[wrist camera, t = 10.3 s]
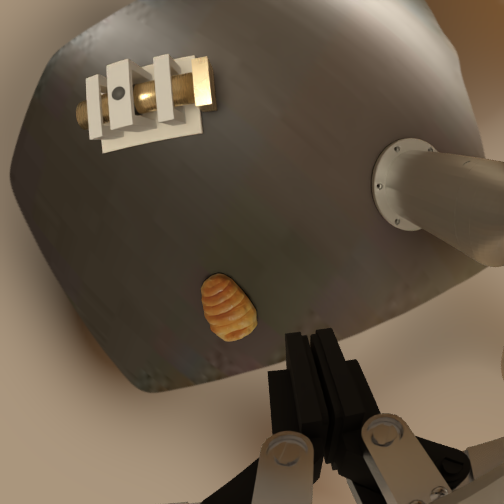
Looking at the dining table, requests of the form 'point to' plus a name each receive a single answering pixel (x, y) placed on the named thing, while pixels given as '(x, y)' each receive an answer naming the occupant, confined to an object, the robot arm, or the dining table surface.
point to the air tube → (183, 87)
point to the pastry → (227, 308)
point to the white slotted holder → (122, 105)
